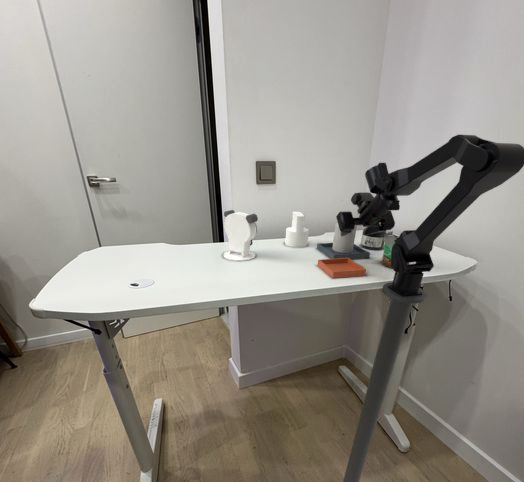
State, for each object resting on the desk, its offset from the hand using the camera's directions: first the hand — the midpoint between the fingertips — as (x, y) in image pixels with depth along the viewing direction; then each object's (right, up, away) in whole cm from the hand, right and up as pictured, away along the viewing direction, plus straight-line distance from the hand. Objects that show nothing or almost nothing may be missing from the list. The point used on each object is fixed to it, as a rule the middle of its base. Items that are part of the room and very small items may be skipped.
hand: (353, 234), depth 100 cm
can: (-2, -5, +9) cm, 10 cm away
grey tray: (-2, -5, +9) cm, 10 cm away
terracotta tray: (-6, -13, -7) cm, 16 cm away
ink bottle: (+13, -1, +17) cm, 21 cm away
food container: (+12, -11, -2) cm, 16 cm away
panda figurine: (-39, -7, +4) cm, 40 cm away
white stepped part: (-18, 0, +18) cm, 25 cm away
